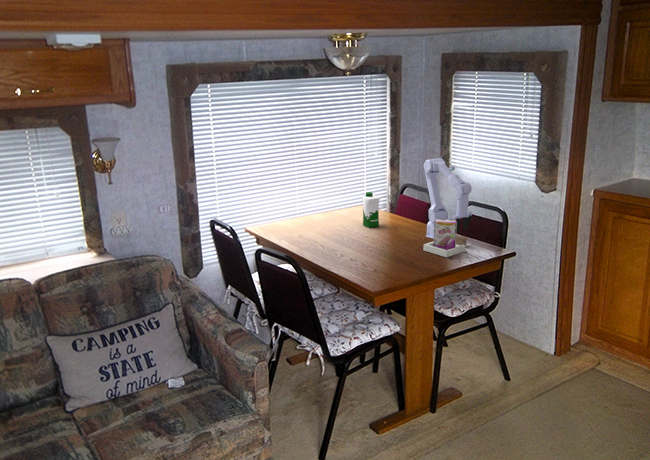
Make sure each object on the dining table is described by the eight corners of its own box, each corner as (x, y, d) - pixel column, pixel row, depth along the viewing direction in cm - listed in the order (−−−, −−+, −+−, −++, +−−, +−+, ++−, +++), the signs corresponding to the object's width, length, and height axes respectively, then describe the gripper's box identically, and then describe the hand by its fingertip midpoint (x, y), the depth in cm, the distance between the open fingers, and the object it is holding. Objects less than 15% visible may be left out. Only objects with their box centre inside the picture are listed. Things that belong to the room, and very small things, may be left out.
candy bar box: (433, 251, 312) (434, 221, 308) (434, 248, 317) (435, 219, 312) (455, 253, 309) (456, 222, 305) (455, 250, 314) (457, 220, 309)
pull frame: (423, 250, 314) (423, 241, 313) (453, 240, 329) (453, 232, 328) (446, 257, 303) (447, 248, 301) (476, 247, 318) (477, 238, 317)
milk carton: (373, 223, 366) (373, 191, 361) (381, 226, 359) (381, 194, 353) (360, 225, 362) (360, 192, 357) (368, 228, 355) (369, 195, 349)
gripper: (459, 209, 307) (458, 235, 311) (477, 205, 316) (475, 229, 320) (449, 207, 313) (447, 232, 317) (466, 202, 322) (464, 227, 325)
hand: (461, 230), depth 319 cm, fingers open, 7 cm apart
